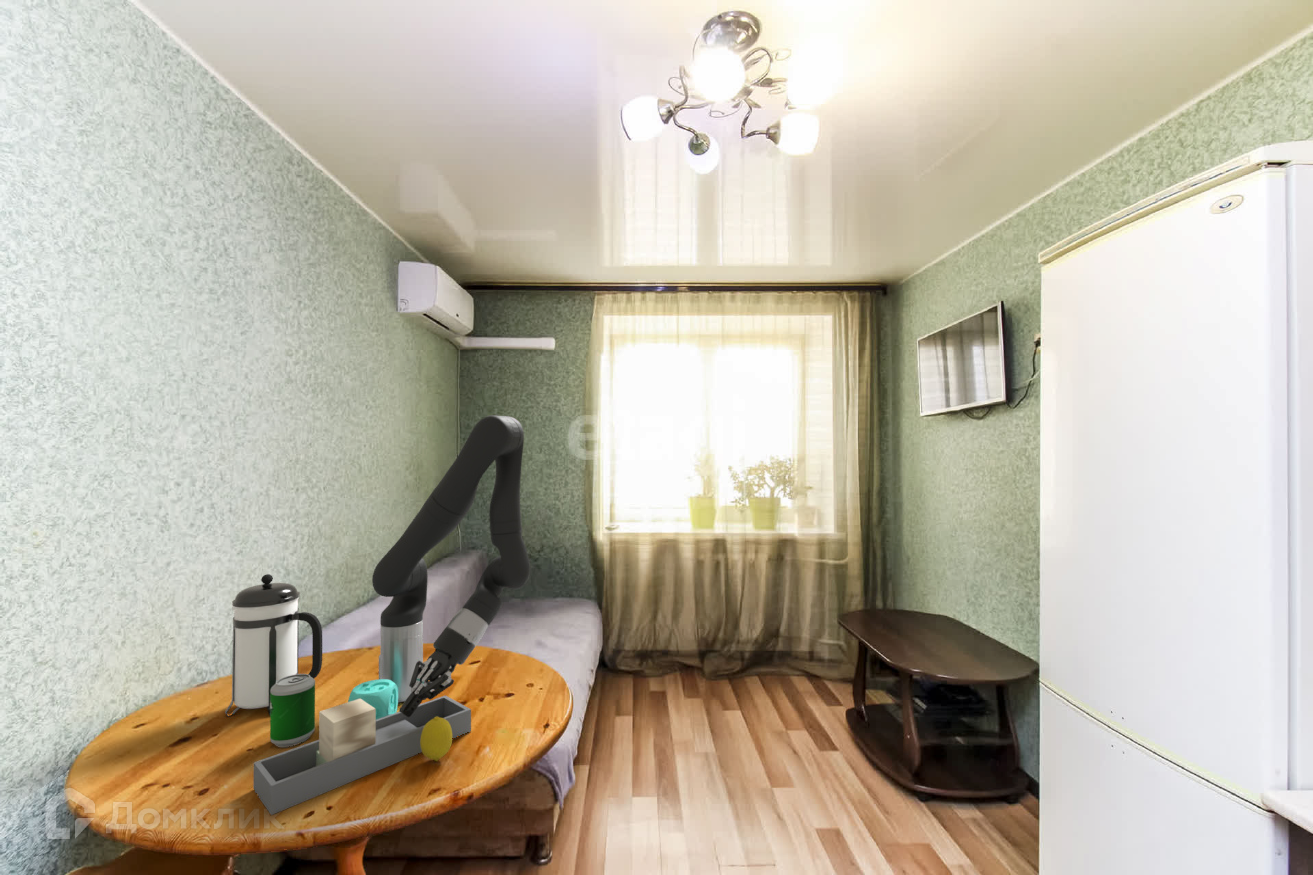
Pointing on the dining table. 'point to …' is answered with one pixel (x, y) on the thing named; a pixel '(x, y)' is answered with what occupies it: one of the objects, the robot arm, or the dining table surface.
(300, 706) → the soda can
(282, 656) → the coffee press
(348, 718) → the ash block
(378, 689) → the decorative dice
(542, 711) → the dining table surface
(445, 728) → the lemon
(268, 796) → the tray
